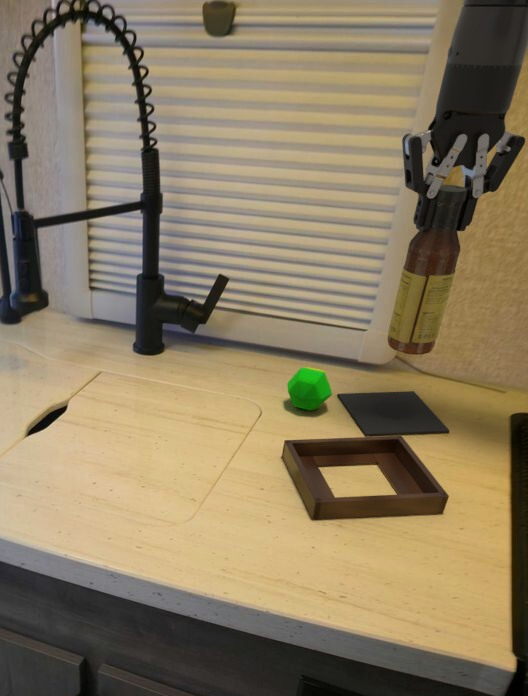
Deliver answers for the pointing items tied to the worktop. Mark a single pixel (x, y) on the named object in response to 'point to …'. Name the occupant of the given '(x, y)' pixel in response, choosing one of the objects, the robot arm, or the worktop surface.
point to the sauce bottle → (427, 277)
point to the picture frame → (386, 451)
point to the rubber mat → (391, 413)
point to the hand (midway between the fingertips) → (440, 229)
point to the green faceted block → (309, 388)
